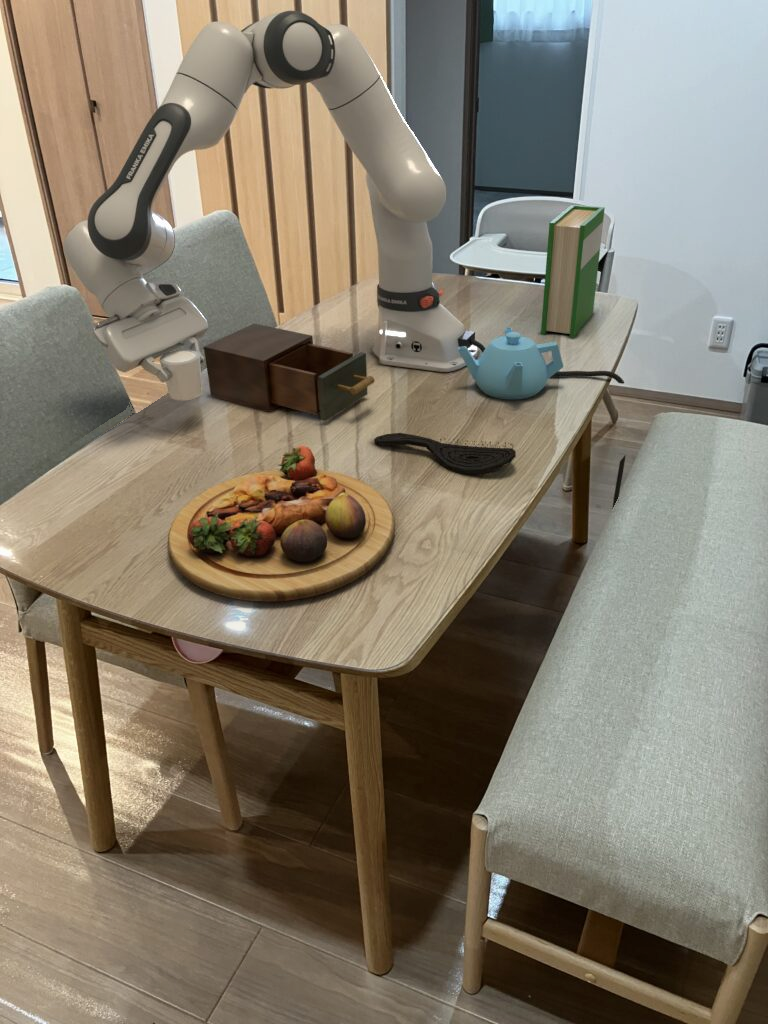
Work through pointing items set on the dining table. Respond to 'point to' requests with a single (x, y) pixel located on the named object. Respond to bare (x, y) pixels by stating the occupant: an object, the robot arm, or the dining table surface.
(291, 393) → the drawer
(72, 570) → the dining table surface
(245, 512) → the wooden plate
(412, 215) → the robot arm
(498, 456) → the hairbrush
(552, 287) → the hardback book
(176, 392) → the white cylinder
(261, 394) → the cabinet
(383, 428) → the dining table surface
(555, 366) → the teapot
